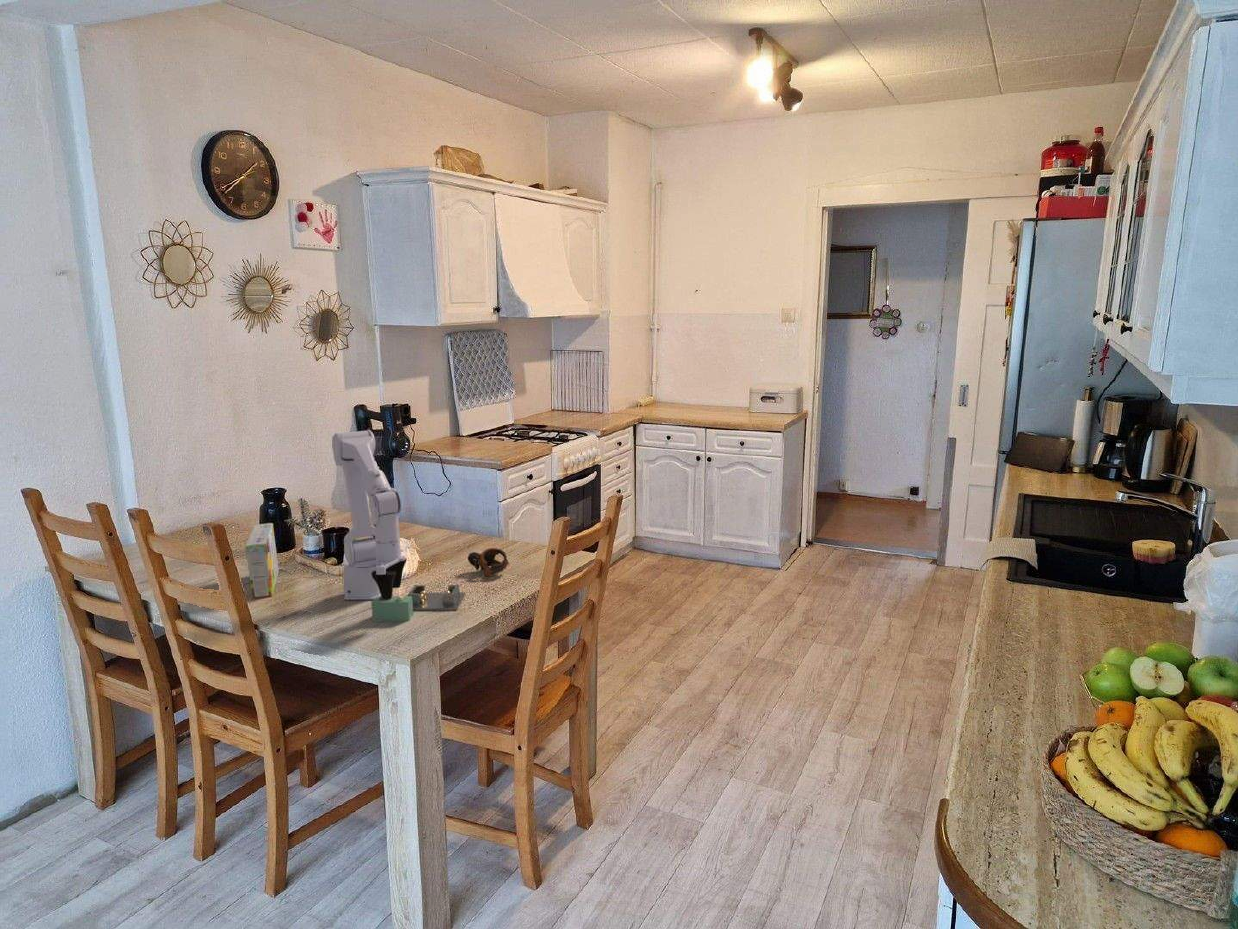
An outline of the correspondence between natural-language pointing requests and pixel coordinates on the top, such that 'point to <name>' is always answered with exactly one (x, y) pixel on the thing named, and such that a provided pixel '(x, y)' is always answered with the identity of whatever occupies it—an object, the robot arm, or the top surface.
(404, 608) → the green knobbed block
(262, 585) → the snack box
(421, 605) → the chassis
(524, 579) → the top surface
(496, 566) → the dark brown curved piece
